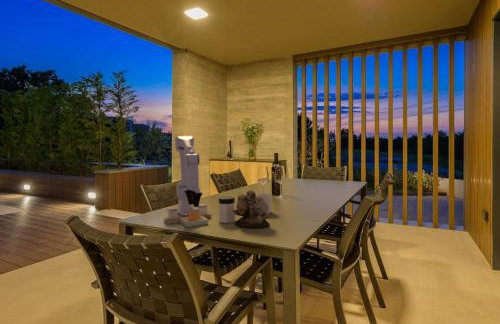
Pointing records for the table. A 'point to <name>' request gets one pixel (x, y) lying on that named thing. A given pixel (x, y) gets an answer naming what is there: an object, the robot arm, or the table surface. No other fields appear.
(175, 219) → the rack
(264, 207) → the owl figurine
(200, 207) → the block
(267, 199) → the mug
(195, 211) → the block
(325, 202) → the table surface
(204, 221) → the tray
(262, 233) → the table surface
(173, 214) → the white fuse
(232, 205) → the jar
